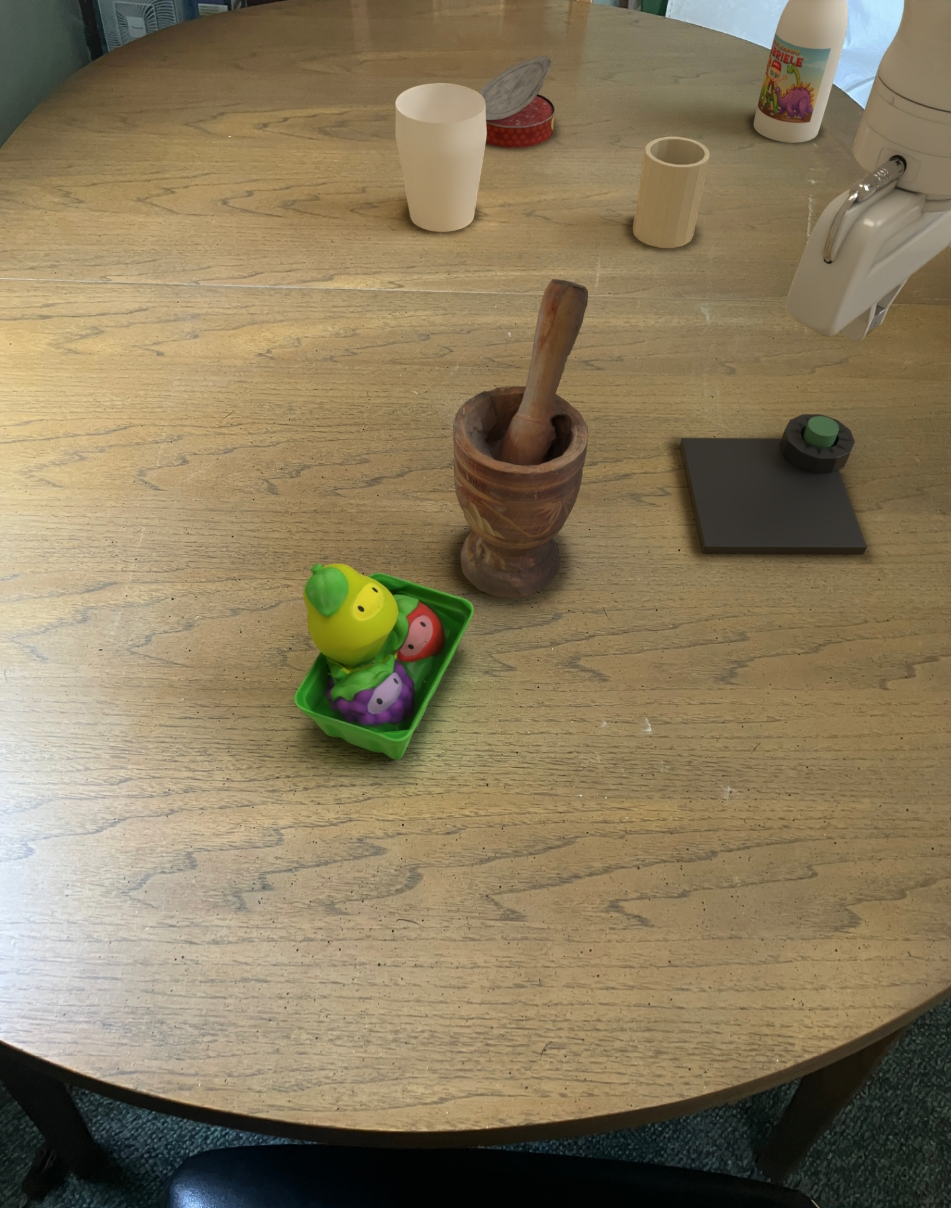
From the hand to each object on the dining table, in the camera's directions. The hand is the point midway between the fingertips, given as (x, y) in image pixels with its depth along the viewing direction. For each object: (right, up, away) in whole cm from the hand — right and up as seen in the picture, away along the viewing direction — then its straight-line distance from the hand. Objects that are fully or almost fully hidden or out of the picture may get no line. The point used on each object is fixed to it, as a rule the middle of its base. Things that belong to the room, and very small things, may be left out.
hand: (859, 330), depth 67 cm
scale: (-5, -12, +7) cm, 14 cm away
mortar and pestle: (-24, -15, +4) cm, 29 cm away
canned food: (-23, +37, +46) cm, 63 cm away
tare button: (0, -6, +8) cm, 10 cm away
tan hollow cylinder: (-8, +19, +32) cm, 38 cm away
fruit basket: (-33, -26, -5) cm, 42 cm away
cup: (-31, +21, +33) cm, 50 cm away
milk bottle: (+10, +37, +47) cm, 61 cm away
